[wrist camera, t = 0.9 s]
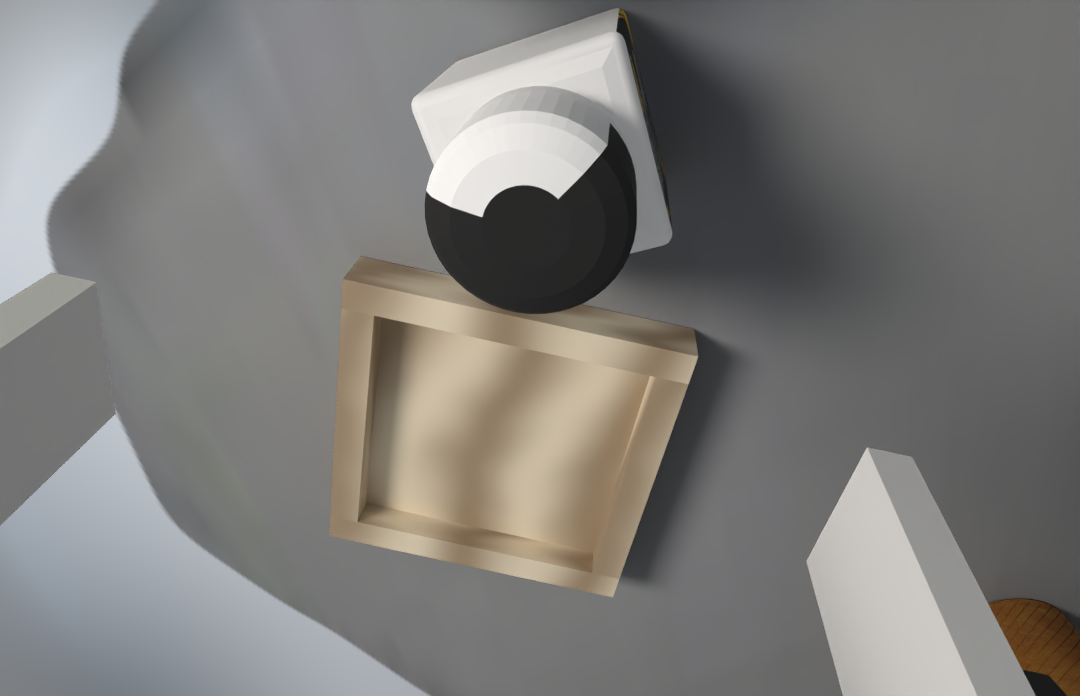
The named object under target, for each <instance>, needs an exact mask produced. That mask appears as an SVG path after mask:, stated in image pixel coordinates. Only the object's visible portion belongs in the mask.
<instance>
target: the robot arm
mask: <svg viewBox="0 0 1080 696" xmlns="http://www.w3.org/2000/svg"><path fill="white" fill-rule="evenodd" d="M115 414H116V413H115V406H114V399H113V393H112V386H111V379H110V372H109V365H108V358H107V351H106V344H105V337H104V331H103V324H102V317H101V310H100V303H99V296H98V289H97V282H93V281H88V280H84V279H79V278H74V277H70V276H65V275H60V274H56V273H50V274H48V275H47V276H45V277H44V278H42V279H40V280H39V281H37V282H36V283H34V284H32V285H31V286H29V287H28V288H26V289H24V290H22V291H21V292H19V293H18V294H16V295H14V296H13V297H11V298H10V299H8V300H6V301H5V302H3V303H1V304H0V525H1V524H2V523H3V522H4V521H5V520H6V519H7V518H8V517H9V516H11V514H13V512H15V511H16V510H17V509H18V508H19V507H20V506H21V505H22V504H23V503H24V502H25V501H26V500H27V499H28V498H29V497H30V496H31V495H32V494H33V493H34V492H35V491H36V490H37V489H38V488H39V487H40V486H41V485H42V484H43V483H44V482H46V481H47V480H48V479H49V478H50V477H51V476H52V475H53V474H54V473H55V472H56V471H57V470H58V469H59V468H60V467H61V466H62V465H63V464H64V463H65V462H66V461H67V460H68V459H69V458H70V457H71V456H72V455H73V454H74V453H75V452H76V451H78V450H79V449H80V447H81V446H83V444H85V443H86V442H87V441H88V440H89V439H90V438H91V437H92V436H93V435H94V434H95V433H96V432H97V431H98V430H99V429H100V428H101V427H102V426H103V425H104V424H105V423H106V422H107V421H108V420H109V419H110V418H111V417H112V416H114V415H115ZM807 565H808V569H809V572H810V576H811V580H812V583H813V587H814V591H815V594H816V598H817V602H818V605H819V609H820V613H821V616H822V620H823V624H824V628H825V631H826V635H827V639H828V642H829V646H830V650H831V653H832V657H833V661H834V664H835V668H836V672H837V675H838V679H839V683H840V686H841V690H842V694H843V696H1067V695H1066V694H1065V693H1064V692H1063V690H1062V689H1061V688H1060V687H1059V686H1058V685H1057V684H1056V683H1055V682H1054V680H1053V679H1052V678H1051V677H1050V676H1049V675H1045V674H1041V673H1036V672H1031V671H1027V670H1022V668H1021V666H1020V664H1019V662H1018V661H1017V659H1016V657H1015V655H1014V653H1013V651H1012V649H1011V647H1010V645H1009V643H1008V641H1007V639H1006V637H1005V635H1004V634H1003V632H1002V630H1001V628H1000V626H999V624H998V622H997V620H996V618H995V616H994V614H993V612H992V610H991V608H990V607H989V605H988V603H987V601H986V599H985V597H984V595H983V593H982V591H981V589H980V587H979V585H978V583H977V581H976V580H975V578H974V576H973V574H972V572H971V570H970V568H969V566H968V564H967V562H966V560H965V558H964V556H963V554H962V552H961V551H960V549H959V547H958V545H957V543H956V541H955V539H954V537H953V535H952V533H951V531H950V529H949V527H948V525H947V524H946V522H945V520H944V518H943V516H942V514H941V512H940V510H939V508H938V506H937V504H936V502H935V500H934V498H933V497H932V495H931V493H930V491H929V489H928V487H927V485H926V483H925V481H924V479H923V477H922V475H921V473H920V471H919V470H918V468H917V466H916V464H915V462H914V460H913V458H912V457H910V456H905V455H900V454H896V453H891V452H886V451H882V450H877V449H872V448H868V447H867V449H866V451H865V452H864V454H863V456H862V458H861V460H860V462H859V464H858V466H857V467H856V469H855V471H854V473H853V475H852V477H851V479H850V481H849V482H848V484H847V486H846V488H845V490H844V492H843V494H842V496H841V497H840V499H839V501H838V503H837V505H836V507H835V509H834V511H833V512H832V514H831V516H830V518H829V520H828V522H827V524H826V526H825V527H824V529H823V531H822V533H821V535H820V537H819V539H818V541H817V542H816V544H815V546H814V548H813V550H812V552H811V554H810V556H809V557H808V559H807Z"/></svg>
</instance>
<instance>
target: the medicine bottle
mask: <svg viewBox="0 0 1080 696" xmlns="http://www.w3.org/2000/svg"><path fill="white" fill-rule="evenodd" d="M411 105H412V111H413V114H414V116H415V119H416V121H417V124H418V126H419V129H420V132H421V134H422V137H423V139H424V142H425V144H426V147H427V149H428V152H429V154H430V157H431V160H432V162H433V165H434V168H433V170H432V173H431V175H430V178H429V182H428V186H427V190H426V197H425V220H426V225H427V230H428V234H429V237H430V240H431V243H432V246H433V248H434V250H435V252H436V254H437V256H438V258H439V260H440V261H441V263H442V264H443V266H444V267H445V269H446V270H447V271H448V273H449V274H450V275H451V276H452V277H453V278H454V279H455V281H456V282H458V283H459V284H460V285H461V286H462V287H463V288H464V289H465V290H467V291H468V292H470V293H471V294H473V295H474V296H475V297H477V298H479V299H480V300H482V301H484V302H486V303H488V304H490V305H493V306H495V307H498V308H501V309H504V310H508V311H512V312H516V313H525V314H547V313H554V312H560V311H563V310H567V309H571V308H573V307H575V306H578V305H580V304H583V303H584V302H586V301H588V300H590V299H591V298H593V297H595V296H596V295H597V294H599V293H600V292H601V291H602V290H604V289H605V288H606V287H607V286H608V285H609V284H610V283H611V282H612V281H613V280H614V279H615V278H616V276H617V275H618V273H619V272H620V271H621V269H622V268H623V266H624V264H625V262H626V260H627V258H628V256H629V254H631V253H635V252H639V251H643V250H647V249H651V248H655V247H659V246H663V245H665V244H667V243H669V241H670V240H671V238H672V225H671V217H670V209H669V202H668V194H667V186H666V178H665V172H664V168H663V164H662V160H661V156H660V152H659V148H658V144H657V140H656V135H655V131H654V127H653V123H652V119H651V115H650V111H649V107H648V102H647V98H646V94H645V90H644V86H643V82H642V78H641V74H640V70H639V65H638V61H637V57H636V53H635V49H634V45H633V41H632V37H631V33H630V28H629V24H628V20H627V16H626V14H625V12H624V11H623V10H622V9H620V8H614V9H611V10H608V11H605V12H602V13H599V14H596V15H593V16H590V17H587V18H584V19H581V20H578V21H575V22H572V23H569V24H567V25H564V26H561V27H558V28H555V29H552V30H549V31H546V32H543V33H540V34H537V35H534V36H531V37H528V38H525V39H522V40H519V41H516V42H513V43H510V44H507V45H504V46H501V47H498V48H495V49H492V50H489V51H486V52H483V53H480V54H477V55H474V56H471V57H468V58H465V59H462V60H459V61H457V62H456V63H454V64H453V65H452V66H451V67H450V68H449V69H447V70H446V71H445V72H444V73H443V74H441V75H440V76H439V77H438V78H437V79H436V80H434V81H433V82H432V83H431V84H430V85H428V86H427V87H426V88H425V89H424V90H423V91H421V92H420V93H419V94H418V95H417V96H415V97H414V98H413V101H412V103H411Z"/></svg>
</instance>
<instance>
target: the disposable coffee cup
mask: <svg viewBox="0 0 1080 696" xmlns="http://www.w3.org/2000/svg"><path fill="white" fill-rule="evenodd" d="M988 605H989V607H990V608H991V610H992V612H993V614H994V616H995V618H996V620H997V622H998V624H999V626H1000V628H1001V630H1002V632H1003V634H1004V635H1005V637H1006V639H1007V641H1008V643H1009V645H1010V647H1011V649H1012V651H1013V653H1014V655H1015V657H1016V659H1017V661H1018V662H1019V664H1020V666H1021V668H1022V670H1027V671H1031V672H1036V673H1041V674H1045V675H1049V676H1050V677H1051V678H1052V679H1053V680H1054V682H1055V683H1056V684H1057V685H1058V686H1059V687H1060V688H1061V689H1062V690H1063V692H1064V693H1065V694H1066V695H1067V696H1080V634H1079V633H1078V631H1077V630H1076V629H1075V628H1074V627H1073V625H1072V624H1071V623H1070V622H1069V620H1068V619H1067V618H1066V616H1065V615H1064V614H1063V613H1062V612H1061V611H1059V610H1058V609H1057V608H1055V607H1053V606H1051V605H1049V604H1047V603H1044V602H1040V601H1036V600H1029V599H1011V600H1002V601H998V602H993V603H990V604H988Z"/></svg>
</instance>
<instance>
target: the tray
mask: <svg viewBox="0 0 1080 696" xmlns="http://www.w3.org/2000/svg"><path fill="white" fill-rule="evenodd" d="M697 359H698V351H697V344H696V337H695V331H694V329H691V328H686V327H682V326H677V325H673V324H668V323H663V322H659V321H654V320H650V319H645V318H641V317H636V316H631V315H627V314H622V313H618V312H613V311H609V310H604V309H599V308H595V307H590V306H586V305H581V304H580V305H578V306H575V307H573V308H571V309H567V310H563V311H560V312H554V313H547V314H525V313H516V312H512V311H508V310H504V309H501V308H498V307H495V306H493V305H490V304H488V303H486V302H484V301H482V300H480V299H479V298H477V297H475V296H474V295H473V294H471V293H470V292H468V291H467V290H465V289H464V288H463V287H462V286H461V285H460V284H459V283H458V282H456V281H455V279H454V278H453V277H452V276H449V275H444V274H439V273H435V272H430V271H426V270H421V269H417V268H412V267H407V266H403V265H398V264H394V263H389V262H385V261H380V260H375V259H371V258H366V257H362V256H361V257H360V258H359V259H358V260H357V262H356V263H355V264H354V266H353V267H352V268H351V269H350V271H349V272H348V273H347V274H346V276H345V277H344V278H343V286H342V305H341V323H340V342H339V361H338V380H337V399H336V418H335V437H334V456H333V475H332V494H331V513H330V532H329V536H333V537H337V538H342V539H347V540H351V541H356V542H360V543H365V544H370V545H374V546H379V547H383V548H388V549H393V550H397V551H402V552H406V553H411V554H416V555H420V556H425V557H429V558H434V559H439V560H443V561H448V562H452V563H457V564H462V565H466V566H471V567H475V568H480V569H485V570H489V571H494V572H498V573H503V574H508V575H512V576H517V577H521V578H526V579H531V580H535V581H540V582H544V583H549V584H554V585H558V586H563V587H567V588H572V589H577V590H581V591H586V592H590V593H595V594H600V595H604V596H609V597H613V595H614V592H615V590H616V587H617V584H618V581H619V578H620V576H621V573H622V570H623V567H624V564H625V561H626V559H627V556H628V553H629V550H630V547H631V545H632V542H633V539H634V536H635V533H636V531H637V528H638V525H639V522H640V519H641V517H642V514H643V511H644V508H645V505H646V502H647V500H648V497H649V494H650V491H651V488H652V486H653V483H654V480H655V477H656V474H657V472H658V469H659V466H660V463H661V460H662V457H663V455H664V452H665V449H666V446H667V443H668V441H669V438H670V435H671V432H672V429H673V427H674V424H675V421H676V418H677V415H678V413H679V410H680V407H681V404H682V401H683V398H684V396H685V393H686V390H687V387H688V384H689V382H690V379H691V376H692V373H693V370H694V368H695V365H696V362H697Z"/></svg>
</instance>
